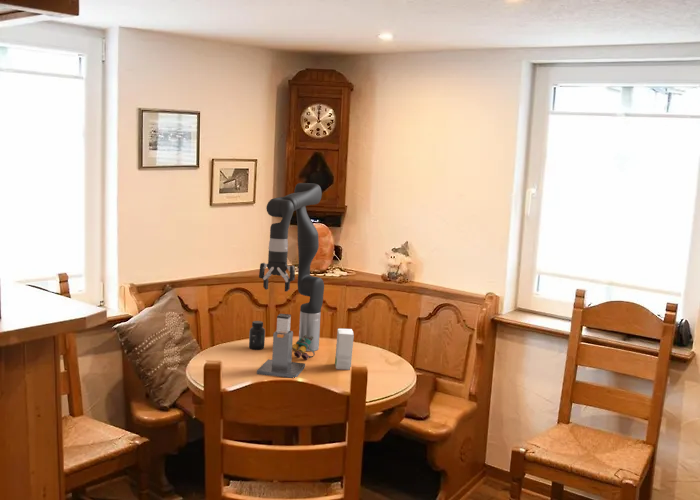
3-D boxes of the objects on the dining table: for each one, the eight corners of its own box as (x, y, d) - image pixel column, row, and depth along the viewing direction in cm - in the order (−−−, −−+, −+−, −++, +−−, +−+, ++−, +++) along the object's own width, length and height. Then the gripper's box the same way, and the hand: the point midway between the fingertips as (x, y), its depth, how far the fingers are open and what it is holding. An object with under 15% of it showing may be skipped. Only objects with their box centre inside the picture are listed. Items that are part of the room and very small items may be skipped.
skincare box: (334, 363, 304) (336, 327, 301) (350, 364, 304) (352, 328, 302) (336, 369, 295) (338, 333, 293) (351, 370, 296) (354, 333, 294)
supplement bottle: (245, 348, 318) (246, 322, 316) (255, 345, 324) (256, 319, 322) (257, 351, 315) (258, 324, 313) (267, 348, 320) (268, 322, 319)
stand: (268, 362, 299) (269, 325, 297) (305, 366, 296) (307, 329, 294) (256, 374, 283) (258, 335, 281) (295, 378, 281) (297, 339, 278)
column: (277, 363, 292) (280, 313, 289) (288, 364, 291) (291, 314, 288) (274, 366, 288) (277, 316, 285) (285, 367, 287) (288, 317, 284)
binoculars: (294, 360, 311) (287, 344, 306) (306, 346, 317) (299, 330, 311) (311, 365, 306) (303, 349, 300) (323, 351, 311) (316, 334, 306)
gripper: (298, 250, 284) (296, 290, 285) (264, 247, 287) (263, 287, 289) (291, 252, 276) (289, 293, 278) (257, 249, 280) (255, 289, 282)
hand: (276, 290), depth 284 cm, fingers open, 8 cm apart
